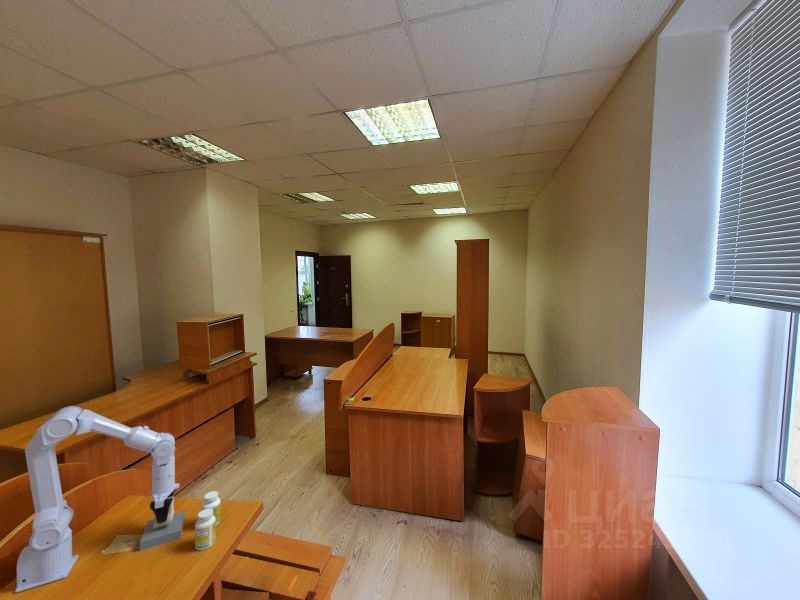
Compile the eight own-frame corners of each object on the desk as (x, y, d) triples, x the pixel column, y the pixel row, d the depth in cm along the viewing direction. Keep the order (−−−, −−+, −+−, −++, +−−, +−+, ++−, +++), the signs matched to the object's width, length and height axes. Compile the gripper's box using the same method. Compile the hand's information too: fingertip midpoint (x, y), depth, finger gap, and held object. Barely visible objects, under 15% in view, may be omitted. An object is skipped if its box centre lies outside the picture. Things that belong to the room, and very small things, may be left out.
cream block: (153, 528, 95) (153, 509, 95) (156, 519, 99) (156, 500, 99) (171, 523, 98) (171, 504, 97) (173, 514, 101) (173, 496, 101)
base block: (139, 552, 92) (139, 542, 92) (147, 530, 100) (147, 521, 100) (180, 539, 97) (180, 530, 96) (184, 519, 105) (184, 510, 105)
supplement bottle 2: (201, 553, 91) (201, 521, 91) (191, 546, 93) (191, 515, 93) (219, 540, 96) (219, 510, 96) (209, 534, 98) (209, 504, 98)
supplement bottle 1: (211, 530, 100) (211, 501, 100) (197, 528, 101) (197, 498, 101) (224, 519, 105) (224, 490, 105) (210, 516, 106) (210, 488, 106)
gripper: (175, 483, 94) (175, 527, 94) (182, 460, 107) (182, 499, 107) (145, 489, 90) (146, 535, 91) (156, 465, 103) (156, 506, 103)
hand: (163, 516), depth 98 cm, fingers closed on cream block, 4 cm apart
